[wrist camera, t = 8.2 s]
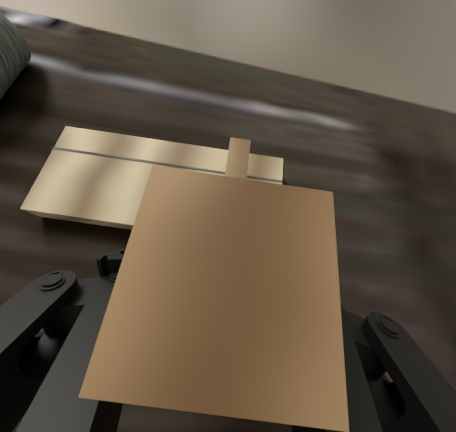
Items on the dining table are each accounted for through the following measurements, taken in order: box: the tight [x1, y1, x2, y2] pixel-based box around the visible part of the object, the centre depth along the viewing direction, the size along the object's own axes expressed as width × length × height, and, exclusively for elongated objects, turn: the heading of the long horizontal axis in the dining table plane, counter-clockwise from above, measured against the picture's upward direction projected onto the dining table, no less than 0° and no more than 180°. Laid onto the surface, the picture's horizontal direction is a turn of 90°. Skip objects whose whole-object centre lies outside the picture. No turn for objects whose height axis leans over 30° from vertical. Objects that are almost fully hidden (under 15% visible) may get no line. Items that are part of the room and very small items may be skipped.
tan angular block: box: [79, 137, 349, 432], centre depth 12 cm, size 5×13×13 cm, turn 172°
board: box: [20, 126, 283, 230], centre depth 18 cm, size 22×9×2 cm, turn 82°
